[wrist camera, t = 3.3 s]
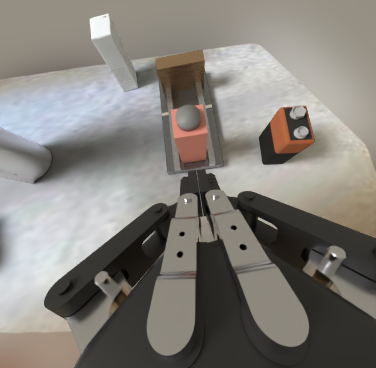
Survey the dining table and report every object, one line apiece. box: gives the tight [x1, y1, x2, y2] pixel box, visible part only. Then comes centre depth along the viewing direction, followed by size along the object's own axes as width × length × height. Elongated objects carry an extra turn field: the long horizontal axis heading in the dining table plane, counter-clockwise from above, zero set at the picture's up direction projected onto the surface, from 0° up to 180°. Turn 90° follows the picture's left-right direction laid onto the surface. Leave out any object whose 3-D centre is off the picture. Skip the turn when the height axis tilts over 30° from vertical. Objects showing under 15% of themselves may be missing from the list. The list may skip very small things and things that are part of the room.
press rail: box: [156, 50, 223, 174], centre depth 31 cm, size 26×12×8 cm, turn 7°
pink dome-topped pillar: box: [171, 104, 208, 163], centre depth 26 cm, size 5×5×11 cm
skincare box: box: [90, 14, 138, 91], centre depth 34 cm, size 6×4×12 cm
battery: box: [259, 105, 315, 164], centre depth 26 cm, size 4×7×10 cm, turn 1°
